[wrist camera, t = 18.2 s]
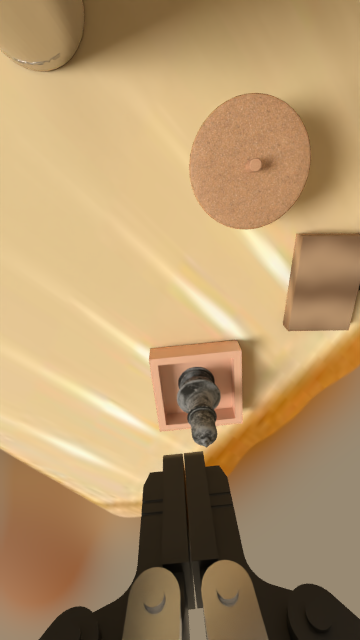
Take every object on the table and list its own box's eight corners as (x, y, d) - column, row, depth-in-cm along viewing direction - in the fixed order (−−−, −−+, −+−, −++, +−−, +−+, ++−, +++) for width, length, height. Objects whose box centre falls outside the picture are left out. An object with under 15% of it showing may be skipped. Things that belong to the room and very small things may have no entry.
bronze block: (294, 233, 37) (303, 236, 35) (358, 233, 37) (371, 235, 35) (281, 323, 42) (288, 330, 39) (338, 322, 42) (348, 330, 40)
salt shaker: (211, 401, 45) (225, 470, 34) (172, 396, 44) (174, 463, 33) (221, 368, 43) (240, 429, 32) (180, 361, 42) (185, 422, 31)
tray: (150, 348, 42) (149, 359, 39) (236, 339, 42) (241, 350, 39) (160, 417, 47) (159, 431, 44) (238, 409, 47) (242, 423, 44)
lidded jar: (293, 195, 35) (335, 196, 26) (208, 238, 36) (222, 252, 28) (261, 93, 31) (297, 55, 22) (168, 146, 33) (168, 130, 24)
